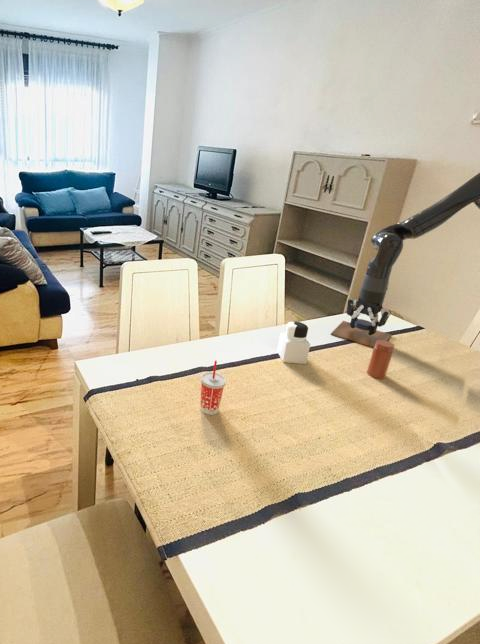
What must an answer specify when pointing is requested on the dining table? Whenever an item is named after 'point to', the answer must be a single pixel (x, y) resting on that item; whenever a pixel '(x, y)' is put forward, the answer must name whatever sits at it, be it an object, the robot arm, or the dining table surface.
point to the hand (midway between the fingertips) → (361, 330)
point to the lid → (362, 324)
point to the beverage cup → (211, 391)
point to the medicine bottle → (294, 343)
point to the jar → (380, 359)
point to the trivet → (359, 335)
